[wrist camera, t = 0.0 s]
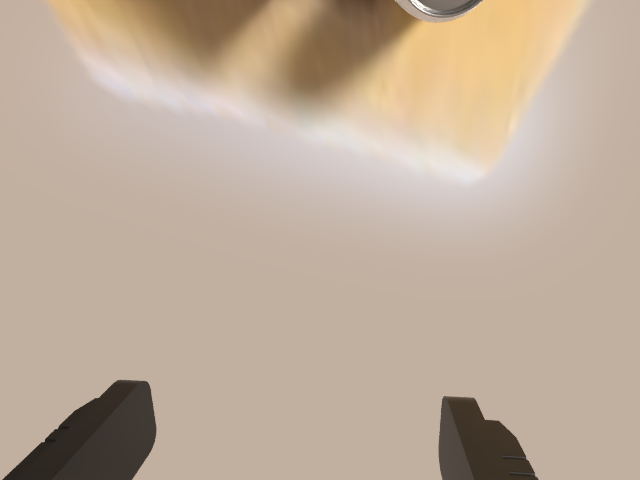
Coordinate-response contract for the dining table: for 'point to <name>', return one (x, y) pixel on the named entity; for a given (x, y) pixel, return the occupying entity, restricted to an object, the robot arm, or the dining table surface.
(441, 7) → the can
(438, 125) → the dining table surface
